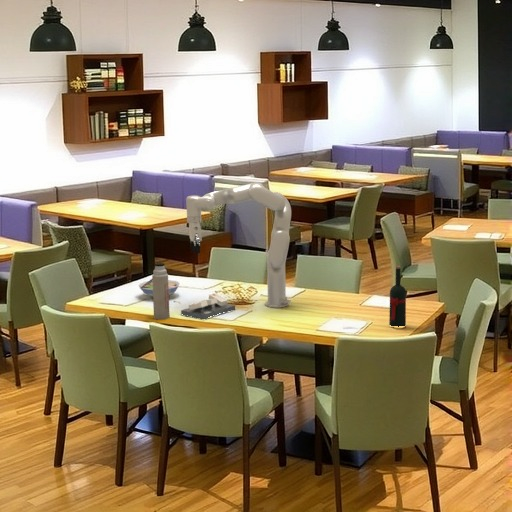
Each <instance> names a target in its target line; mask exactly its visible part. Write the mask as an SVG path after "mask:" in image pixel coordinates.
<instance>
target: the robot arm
mask: <svg viewBox="0 0 512 512" xmlns="http://www.w3.org/2000/svg"><path fill="white" fill-rule="evenodd" d="M185 201H186V203H185V204H186V222H187V224H188V227H189V231H188V232H189V239H190V251H193V254H200V253H201V242H202V241H203V239H202V238H203V237H202V228H201V227H202V226H201V223H202V221H203V220H202V210H203V211H211V210H213V209H214V208H215V207H216V206H220V205H225V204H232V205H236V204H241V203H244V202H249V201H255V202H257V203H258V204H260V205H261V206H263V207H265V208H267V209H270V210H271V211H273V212H274V221H273V226H272V230H271V234H270V235H271V236H270V245H269V249H268V250H267V253H266V265H267V269H266V271H267V274H266V275H267V280H266V281H267V301H265V303H264V306H266V307H268V308H274V307H275V309H276V308H285V306H286V307H288V306H289V305H290V304H291V301H292V300H290V299H288V296H286V295H287V294H286V293H287V292H286V291H287V290H286V261H287V256H288V252H289V246H290V242H291V238H290V226H291V220H292V207H291V204H290V202H289V200H288V199H287V198H286V196H284V195H283V194H282V193H281V192H278V191H277V192H276V191H275V192H274V191H272V190H270V189H268V188H267V187H265V186H264V184H263V183H261V182H258V181H257V182H256V181H255V182H251V183H247V184H243V185H238V186H235V187H231V188H226V189H221V190H217V191H212V192H209V193H205V194H204V195H203V196H200V195H188V196H187V197H186V199H185Z"/></svg>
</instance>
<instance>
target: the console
mask: <svg viewBox="0 0 512 512" xmlns="http://www.w3.org/2000/svg"><path fill="white" fill-rule="evenodd" d="M231 310H234V311H236V305H234V304H230V303H227V304H226V305H223V306H220V305H218V304H216V303H215V304H211V305H208V306H204V307H201V308H196V309H191V310H190V309H189V307H187V308H184V309H181V310H180V315H181V314H183V315H188V316H192V317H191V318H193V317H196V318H195V319H197V318H200V319H199V320H202V319H205V320H207V319H206V318H208V317H210V316H213V315H217V314H219V313H223V312H227V311H231ZM231 312H232V311H231ZM183 315H182V316H183ZM188 316H187V317H188ZM208 319H209V318H208Z"/></svg>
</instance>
